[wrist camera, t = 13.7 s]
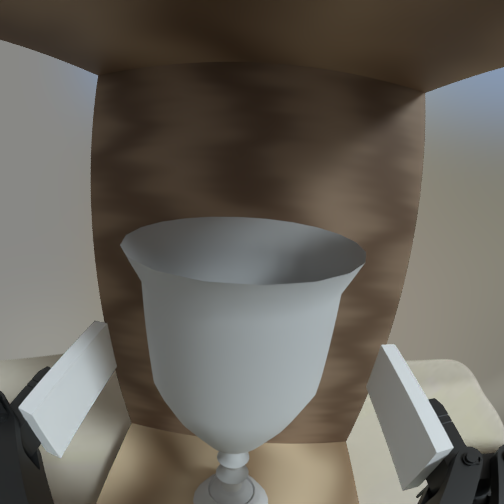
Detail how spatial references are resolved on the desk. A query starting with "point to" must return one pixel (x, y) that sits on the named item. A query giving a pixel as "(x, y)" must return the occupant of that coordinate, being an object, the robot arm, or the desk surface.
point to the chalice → (239, 329)
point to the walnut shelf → (258, 181)
